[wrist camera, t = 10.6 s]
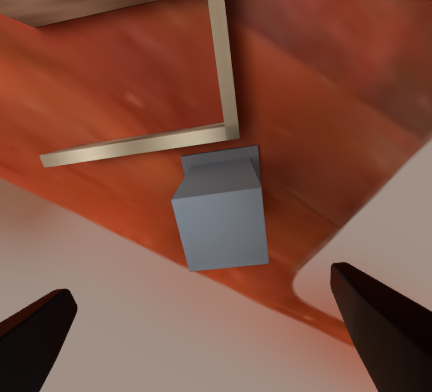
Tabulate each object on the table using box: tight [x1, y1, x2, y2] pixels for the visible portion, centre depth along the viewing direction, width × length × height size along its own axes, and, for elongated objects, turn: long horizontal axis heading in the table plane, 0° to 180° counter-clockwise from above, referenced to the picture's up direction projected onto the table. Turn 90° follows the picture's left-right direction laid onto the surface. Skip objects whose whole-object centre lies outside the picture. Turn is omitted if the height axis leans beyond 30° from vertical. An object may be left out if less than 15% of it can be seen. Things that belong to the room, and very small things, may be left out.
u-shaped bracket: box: [0, 0, 240, 167], centre depth 14 cm, size 13×10×4 cm
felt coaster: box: [181, 145, 262, 188], centre depth 19 cm, size 6×6×1 cm
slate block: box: [171, 157, 269, 271], centre depth 15 cm, size 4×4×7 cm
